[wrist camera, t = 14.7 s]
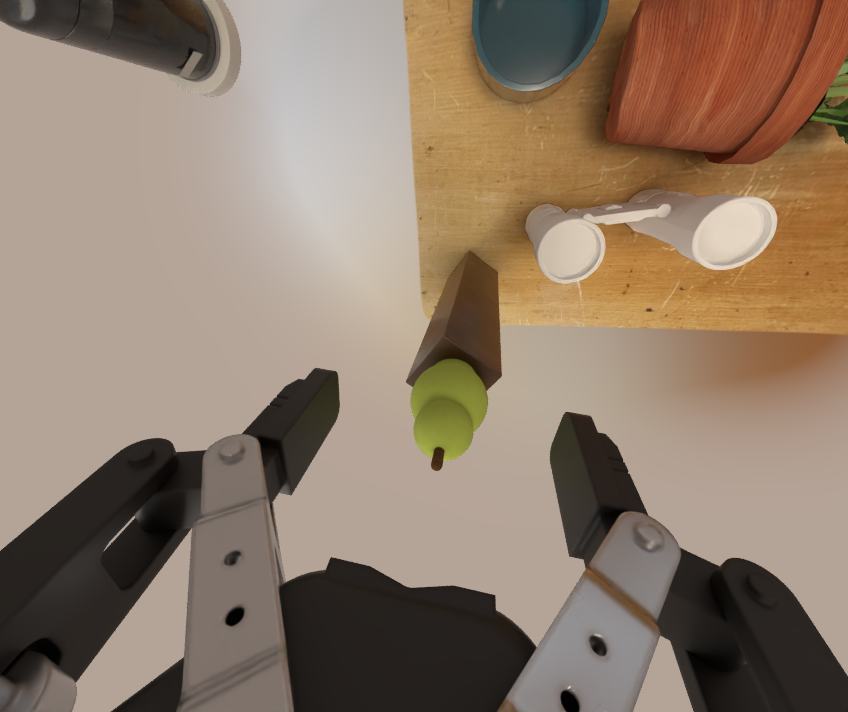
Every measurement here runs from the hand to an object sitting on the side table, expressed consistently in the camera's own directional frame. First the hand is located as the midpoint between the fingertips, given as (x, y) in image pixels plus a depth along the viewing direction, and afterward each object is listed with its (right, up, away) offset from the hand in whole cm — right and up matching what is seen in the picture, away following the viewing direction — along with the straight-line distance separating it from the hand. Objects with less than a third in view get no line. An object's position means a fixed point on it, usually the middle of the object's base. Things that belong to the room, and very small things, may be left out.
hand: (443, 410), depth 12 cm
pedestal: (+6, +14, +37) cm, 40 cm away
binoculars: (+21, +20, +31) cm, 42 cm away
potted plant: (+36, +30, +22) cm, 52 cm away
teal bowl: (+11, +36, +24) cm, 44 cm away
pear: (+1, 0, +13) cm, 13 cm away
